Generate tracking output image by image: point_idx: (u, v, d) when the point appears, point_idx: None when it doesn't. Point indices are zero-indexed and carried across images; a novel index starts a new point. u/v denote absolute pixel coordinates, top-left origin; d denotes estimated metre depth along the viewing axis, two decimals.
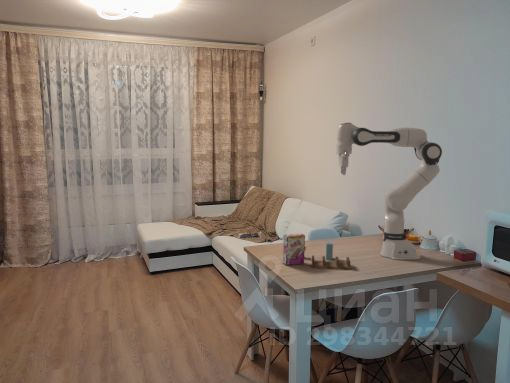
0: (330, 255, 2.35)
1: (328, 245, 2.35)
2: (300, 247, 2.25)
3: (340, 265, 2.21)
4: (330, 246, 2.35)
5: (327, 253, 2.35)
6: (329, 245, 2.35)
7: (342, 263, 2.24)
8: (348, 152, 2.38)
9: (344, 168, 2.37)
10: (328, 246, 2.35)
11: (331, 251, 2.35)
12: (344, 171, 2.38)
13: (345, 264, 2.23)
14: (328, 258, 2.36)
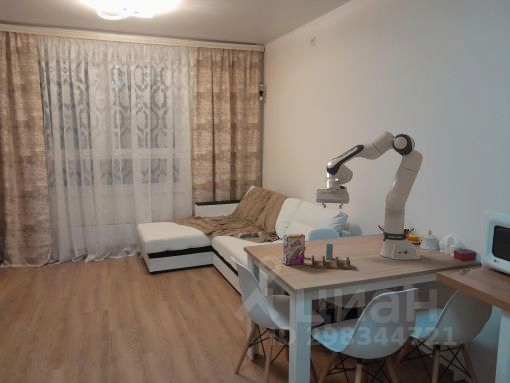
0: (330, 255, 2.35)
1: (328, 245, 2.35)
2: (300, 247, 2.25)
3: (340, 265, 2.21)
4: (330, 246, 2.35)
5: (327, 253, 2.35)
6: (329, 245, 2.35)
7: (342, 263, 2.24)
8: (326, 188, 2.54)
9: (321, 202, 2.51)
10: (328, 246, 2.35)
11: (331, 251, 2.35)
12: (323, 204, 2.50)
13: (345, 264, 2.23)
14: (328, 258, 2.36)
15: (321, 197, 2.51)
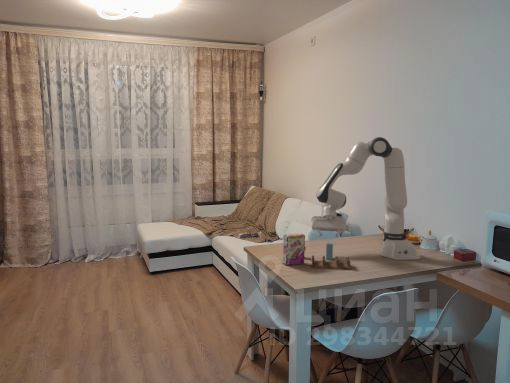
0: (330, 255, 2.35)
1: (328, 245, 2.35)
2: (300, 247, 2.25)
3: (340, 265, 2.21)
4: (330, 246, 2.35)
5: (327, 253, 2.35)
6: (329, 245, 2.35)
7: (342, 263, 2.24)
8: (322, 215, 2.49)
9: None
10: (328, 246, 2.35)
11: (331, 251, 2.35)
12: (318, 232, 2.44)
13: (345, 264, 2.23)
14: (328, 258, 2.36)
15: (317, 225, 2.46)
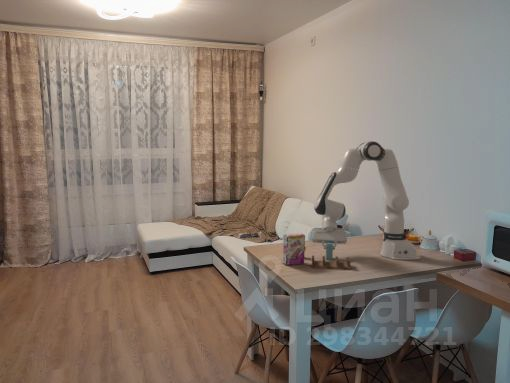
0: (330, 255, 2.35)
1: (328, 245, 2.35)
2: (300, 247, 2.25)
3: (340, 265, 2.21)
4: (330, 246, 2.35)
5: (327, 253, 2.35)
6: (329, 245, 2.35)
7: (342, 263, 2.24)
8: (322, 227, 2.43)
9: (322, 242, 2.39)
10: (328, 246, 2.35)
11: (331, 251, 2.35)
12: (323, 245, 2.38)
13: (345, 264, 2.23)
14: (328, 258, 2.36)
15: (318, 237, 2.39)
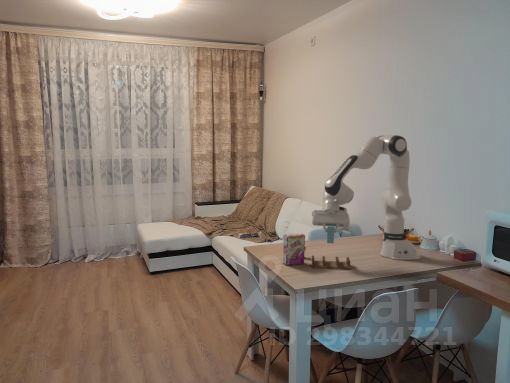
0: (331, 238, 2.21)
1: (329, 228, 2.21)
2: (300, 247, 2.25)
3: (340, 265, 2.21)
4: (331, 229, 2.21)
5: (328, 236, 2.21)
6: (330, 228, 2.21)
7: (342, 263, 2.24)
8: (324, 209, 2.29)
9: (322, 225, 2.25)
10: (329, 229, 2.21)
11: (332, 234, 2.21)
12: (324, 228, 2.24)
13: (345, 264, 2.23)
14: (329, 241, 2.22)
15: (318, 220, 2.25)
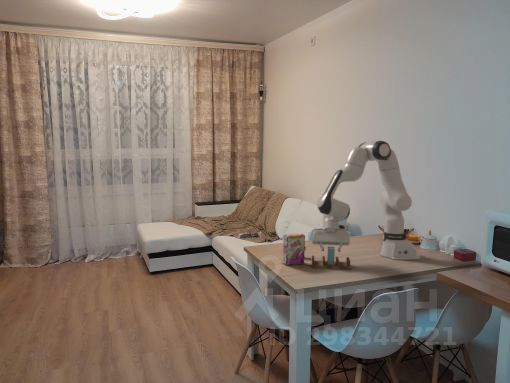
0: (332, 260, 2.21)
1: (329, 249, 2.21)
2: (300, 247, 2.25)
3: (340, 265, 2.21)
4: (332, 250, 2.21)
5: (328, 258, 2.21)
6: (331, 249, 2.21)
7: (342, 263, 2.24)
8: (324, 228, 2.29)
9: (319, 244, 2.25)
10: (329, 250, 2.21)
11: (333, 256, 2.21)
12: (321, 247, 2.24)
13: (345, 264, 2.23)
14: (329, 263, 2.22)
15: (319, 239, 2.25)
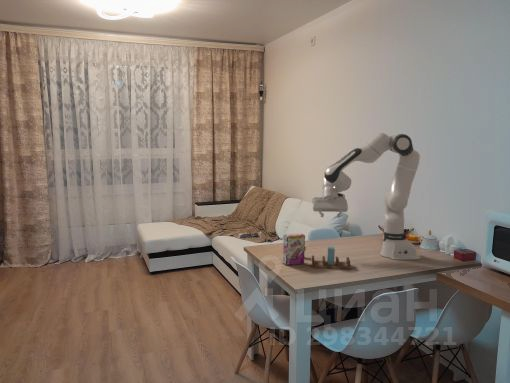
0: (332, 260, 2.21)
1: (329, 249, 2.21)
2: (300, 247, 2.25)
3: (340, 265, 2.21)
4: (332, 250, 2.21)
5: (328, 258, 2.21)
6: (331, 249, 2.21)
7: (342, 263, 2.24)
8: (323, 196, 2.44)
9: (319, 211, 2.40)
10: (329, 250, 2.21)
11: (333, 256, 2.21)
12: (320, 213, 2.39)
13: (345, 264, 2.23)
14: (329, 263, 2.22)
15: (319, 206, 2.40)
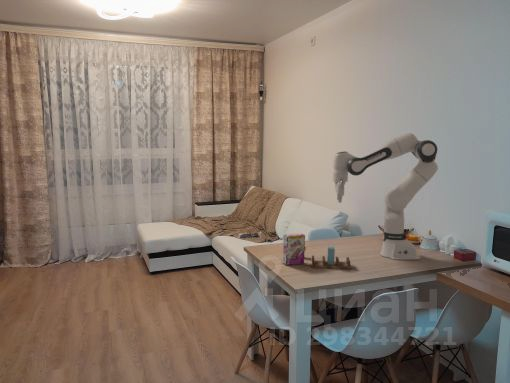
0: (332, 260, 2.21)
1: (329, 249, 2.21)
2: (300, 247, 2.25)
3: (340, 265, 2.21)
4: (332, 250, 2.21)
5: (328, 258, 2.21)
6: (331, 249, 2.21)
7: (342, 263, 2.24)
8: (344, 180, 2.44)
9: (340, 196, 2.43)
10: (329, 250, 2.21)
11: (333, 256, 2.21)
12: (340, 199, 2.44)
13: (345, 264, 2.23)
14: (329, 263, 2.22)
15: None
